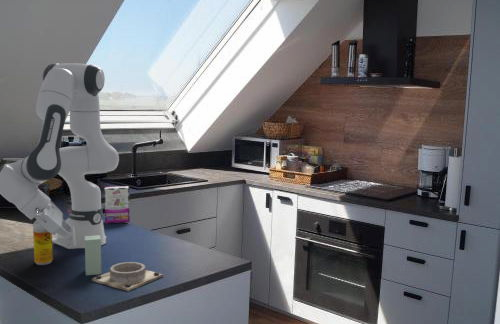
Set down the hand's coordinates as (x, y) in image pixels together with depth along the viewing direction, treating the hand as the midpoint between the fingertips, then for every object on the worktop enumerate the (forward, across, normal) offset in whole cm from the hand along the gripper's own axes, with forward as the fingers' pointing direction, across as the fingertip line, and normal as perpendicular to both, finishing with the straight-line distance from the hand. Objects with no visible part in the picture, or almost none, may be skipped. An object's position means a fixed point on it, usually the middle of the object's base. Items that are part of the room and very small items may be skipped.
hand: (69, 233), depth 179 cm
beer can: (+3, +15, +16) cm, 23 cm away
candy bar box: (+24, +69, -4) cm, 73 cm away
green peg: (+15, 0, +5) cm, 16 cm away
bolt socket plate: (+22, -9, -3) cm, 24 cm away
